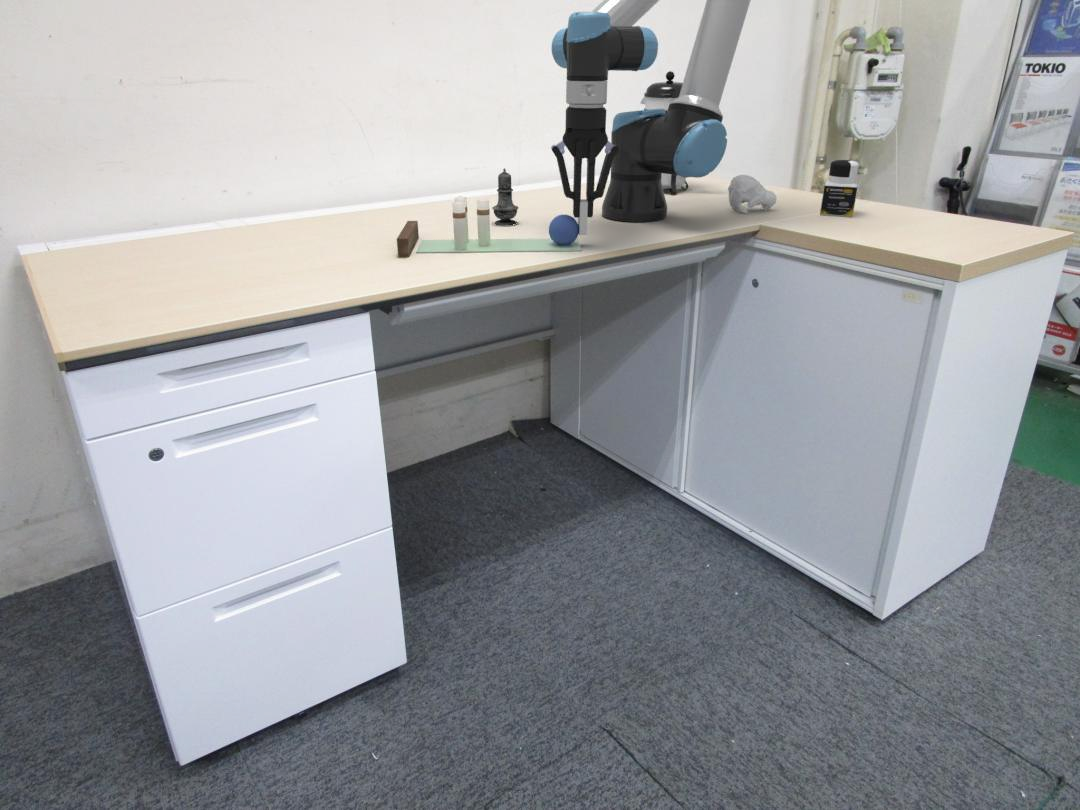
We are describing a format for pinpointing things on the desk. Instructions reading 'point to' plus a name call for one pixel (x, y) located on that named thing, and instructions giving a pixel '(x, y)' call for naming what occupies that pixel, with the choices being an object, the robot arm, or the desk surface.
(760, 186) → the grey animal figurine
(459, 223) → the pin rear left
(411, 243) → the backstop
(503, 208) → the salt shaker
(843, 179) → the medicine bottle
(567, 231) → the ball
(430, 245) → the lane mark
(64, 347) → the desk surface
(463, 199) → the pin rear right
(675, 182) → the coffee press
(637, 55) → the robot arm
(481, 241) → the pin front
